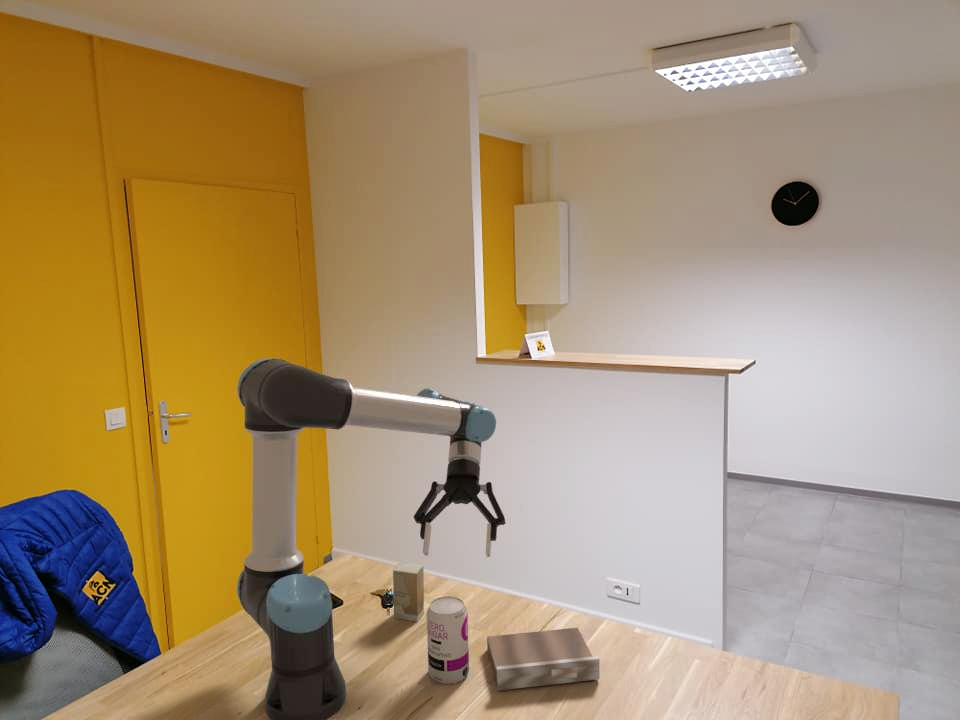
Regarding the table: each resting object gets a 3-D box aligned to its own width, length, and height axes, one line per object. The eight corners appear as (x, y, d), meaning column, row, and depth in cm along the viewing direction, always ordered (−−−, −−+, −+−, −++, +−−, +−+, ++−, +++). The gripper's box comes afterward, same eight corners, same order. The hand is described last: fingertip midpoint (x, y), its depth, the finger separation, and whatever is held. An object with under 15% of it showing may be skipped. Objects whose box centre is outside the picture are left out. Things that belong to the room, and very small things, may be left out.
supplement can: (470, 662, 146) (469, 595, 143) (466, 686, 138) (464, 616, 135) (432, 661, 146) (430, 594, 144) (425, 685, 138) (423, 615, 136)
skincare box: (393, 618, 164) (391, 570, 162) (400, 609, 168) (398, 561, 166) (418, 622, 162) (416, 573, 160) (425, 613, 166) (423, 564, 164)
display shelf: (498, 693, 135) (497, 670, 134) (486, 649, 150) (485, 628, 149) (599, 682, 138) (599, 659, 137) (578, 640, 153) (578, 619, 152)
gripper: (518, 472, 163) (515, 561, 151) (414, 471, 167) (403, 558, 154) (516, 457, 157) (513, 549, 145) (408, 457, 160) (396, 546, 148)
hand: (456, 554), depth 150 cm, fingers open, 13 cm apart
